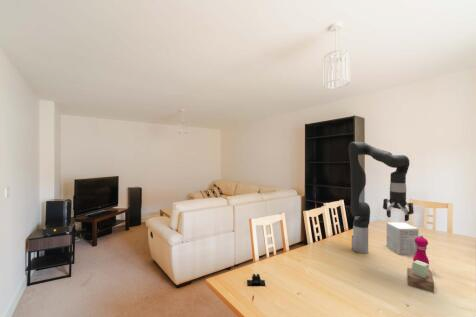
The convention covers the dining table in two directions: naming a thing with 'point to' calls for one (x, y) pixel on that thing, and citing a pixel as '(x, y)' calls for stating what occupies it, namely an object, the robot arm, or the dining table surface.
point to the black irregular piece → (256, 281)
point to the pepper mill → (421, 249)
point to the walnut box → (420, 281)
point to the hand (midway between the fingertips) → (397, 219)
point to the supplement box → (402, 238)
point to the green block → (420, 269)
